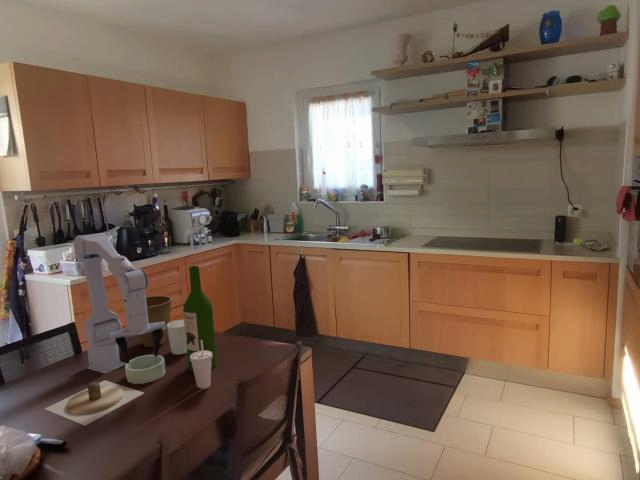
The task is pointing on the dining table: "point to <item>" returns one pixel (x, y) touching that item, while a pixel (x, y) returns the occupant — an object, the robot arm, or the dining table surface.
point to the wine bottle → (198, 320)
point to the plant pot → (157, 316)
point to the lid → (94, 399)
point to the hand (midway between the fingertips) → (141, 358)
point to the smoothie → (202, 367)
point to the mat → (85, 419)
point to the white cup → (177, 337)
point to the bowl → (145, 369)
